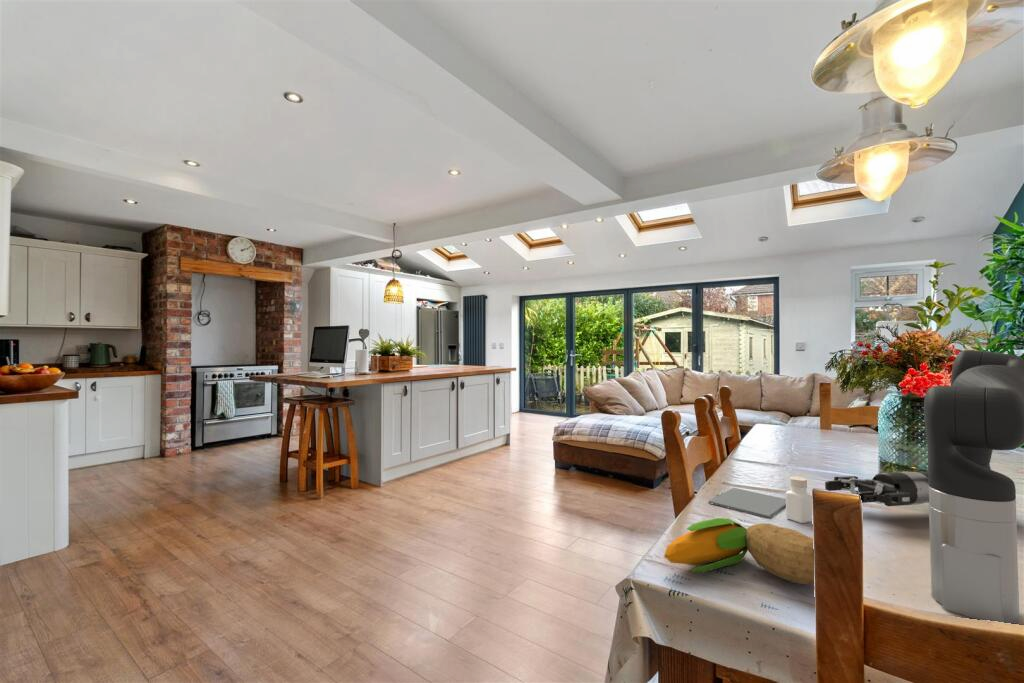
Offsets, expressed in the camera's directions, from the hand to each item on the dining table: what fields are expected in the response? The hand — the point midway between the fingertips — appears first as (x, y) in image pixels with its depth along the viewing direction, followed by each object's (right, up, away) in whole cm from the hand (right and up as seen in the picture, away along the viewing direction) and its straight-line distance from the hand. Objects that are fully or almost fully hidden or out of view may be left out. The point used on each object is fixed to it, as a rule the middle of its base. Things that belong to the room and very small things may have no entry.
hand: (841, 491), depth 102 cm
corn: (-41, -6, -22) cm, 47 cm away
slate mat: (-16, -6, +10) cm, 20 cm away
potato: (-30, -6, -27) cm, 40 cm away
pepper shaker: (-11, -6, -1) cm, 13 cm away
